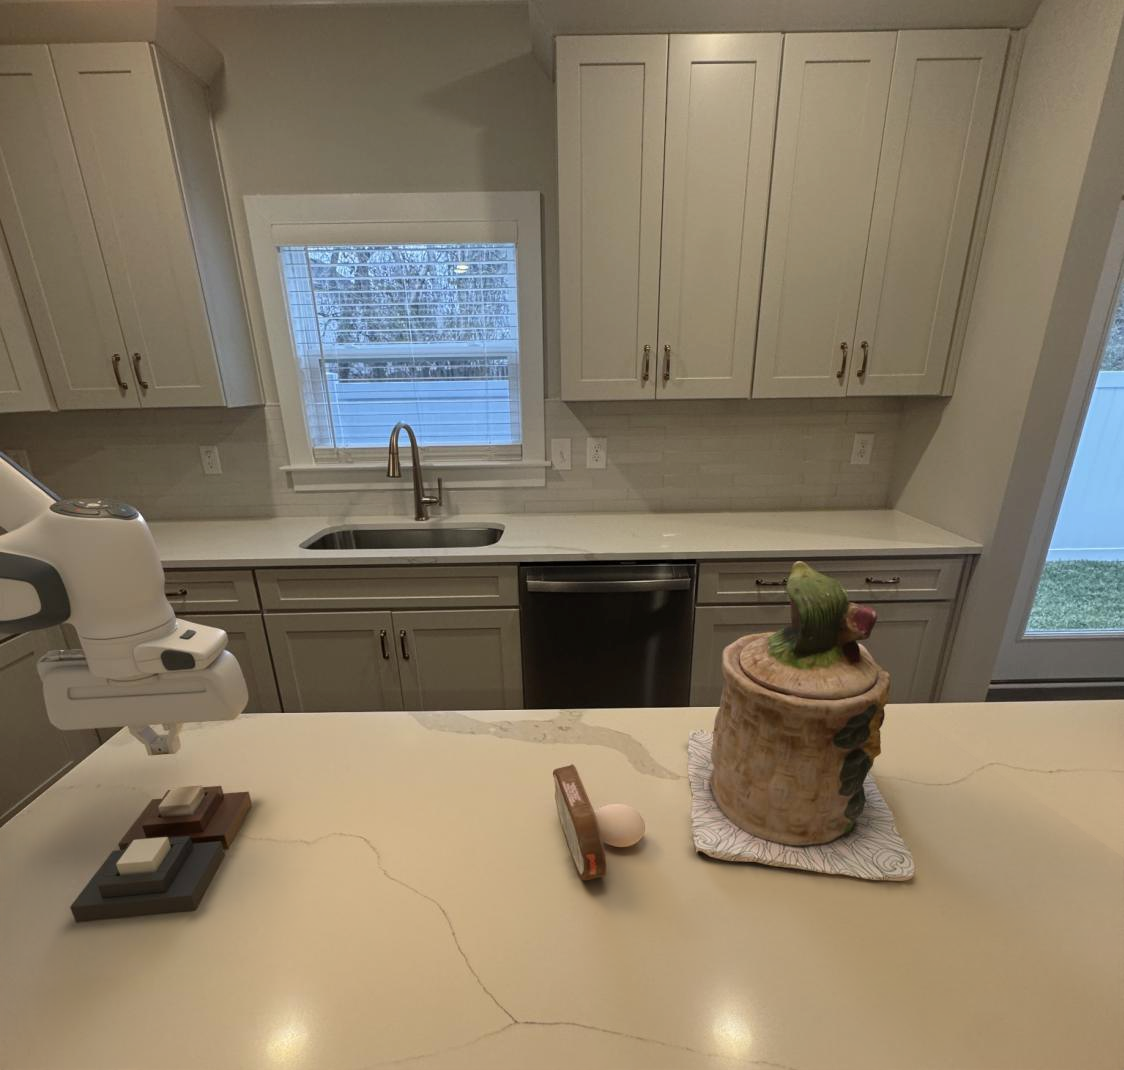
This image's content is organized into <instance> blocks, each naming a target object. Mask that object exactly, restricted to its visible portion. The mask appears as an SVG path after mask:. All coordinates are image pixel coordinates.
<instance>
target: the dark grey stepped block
mask: <svg viewBox="0 0 1124 1070" xmlns="http://www.w3.org/2000/svg"><path fill="white" fill-rule="evenodd" d="M168 840H169V843H170V846H171V850H170V852H169V853H168V855H167V856H166V858H165V859H164V861H163V862H162V864H161V866H160V867H159V869H158V870H157V872H155V873H144V874H133V875H122V876H120V873H119V871H118V868H117V865H116V863H117V862H118V861H119V859H120V858H121V857H122V855H123V854H124V853H125V851H126V850H127V848H128V847H129V846H130V844H131V843H132V842H133V841H130V842H129V843H128V845H127V846H126V848H125V849H124V850H120V849H118V850H112V852H110V854H109V855H108V856H107V858H106V859H105V860H104V862H103V863H102V864H101V866H100V867H99V868H98V869H97V871H96V872H95V874H94V875H93V876H92V878H91V879H90V880H89V882H88V883H86V885H85V887H84V888H83V889H82V891H81V892H80V893H79V895H77V897H76V898H75V900H74V901H73V902H72V904H70V906H69V909H70V911H71V913H72V916H73V919H74V921H75V922H76V923H83V922H93V921H95V922H96V921H102V920H103V921H104V920H105V921H106V920H115V919H123V918H134V917H143V916H145V917H146V916H155V915H164V914H166V915H167V914H175V913H185V912H195V911H196V910H197V909H198V908H199V905H200V904H201V902H202V900H203V898H204V896H205V894H206V892H207V890H208V888H209V887H210V884H211V882H212V881H213V879H214V877H215V875H216V873H217V872H218V870H219V868H220V866H221V864H222V862H223V860H224V858H225V856H226V854H225V849H223V846H222V843H221V841H217V842H206V843H195V844H192V841H191V838H190V836H182V837H170V838H168Z"/></svg>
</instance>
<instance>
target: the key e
mask: <svg viewBox="0 0 1124 1070" xmlns="http://www.w3.org/2000/svg"><path fill="white" fill-rule="evenodd" d="M203 787H204V786H203V785H191V786H190V785H189V786H178V787H171V789H169V790H170V792H169V793H168V794H167V796H166V797H165V798H164V800H163V801H162V802H161V804H160V805H159V806H158V808H159V811H160V814H161V817H171V816H183V815H194V813H195V812H196V810H197V809H198V807H199V805H200V804H201V802H202V801H203V799H204V798H205V794H204V790H203Z"/></svg>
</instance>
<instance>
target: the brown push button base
mask: <svg viewBox="0 0 1124 1070" xmlns="http://www.w3.org/2000/svg"><path fill="white" fill-rule="evenodd" d="M202 787H203V790H204V794H205V798H204V799H203V801H202V802H201V804H200V805H199V807H198V809H197V810H196V812H195V813H194V815H183V816H171V817H161V814H160V811H159V808H158V806H159V805H160V804H161V802H162V801H163V800H164V798H165V797H166V796H167V794H168V793H169V792H170V790H171V789H168V790H167V791H166V792H165V794H164V795H163V796H162V797H161V798H152V799H151V800H150V802H149V803H148V804H147V805H146V807H145V808H144V809H143V811H142V812H141V813H140V814H139V816H138V817H137V819H136V820H134V823H133V824H132V825H131V826H130V828H129V829H128V830H127V832H126V833H125V834H124V836H123V837H122V838H121V839H120V840H119V842H118V843H117V846H118V848H119V849H118V850H124V849H125V848H126V846H127V845H128V843H129V842H130V841H133V840H138V839H150V838H161V837H168V838H170V837H182V836H190V838H191V841H192V844H195V843H206V842H217V841H221V843H222V846H223V850H229V849H230V848H231V845H232V843H233V842H234V840H235V838H236V836H237V834H238V832H239V830H240V828H241V826H242V825H243V822H244V821H245V819H246V817H247V815H248V814H249V811H250V809H251V808H252V806H253V803H252V798H251V795H250V791H237V792H236V791H235V792H224V790H223V787H222V785H211V786H202Z"/></svg>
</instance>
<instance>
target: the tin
mask: <svg viewBox="0 0 1124 1070" xmlns="http://www.w3.org/2000/svg"><path fill="white" fill-rule="evenodd" d="M552 776H553V780H554V782H553V783H554V791H555V792H554V799H555V804H556V809H557V813H558V817H559V821H560V824H561V827H562V831H563V833H564V837H565V841H566V844H567V846H568V850H569V852H570V854H571V858H572V860H573V863H574V867H575V869H576V872H577V874H578V876H579V878H580V879H581V880H582V881H589V880H593V879H597V878H605V877H606V875H607V860H606V852H605V846H604V842H603V841H602V836H601V832H600V829H599V825H598V822H597V818H596V815H595V813H594V812H595V810H594V808H593V806H592V803H591V801H590V798H589V796H588V794H587V791H586V788H585V786H584V784H583V781H582V779H581V777H580V774H579V772H578V770H577V767H576V765H574V764H573V763H572V764H570V765H566V766H562V767H558V768H555V769H554V770H553V771H552Z"/></svg>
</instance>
